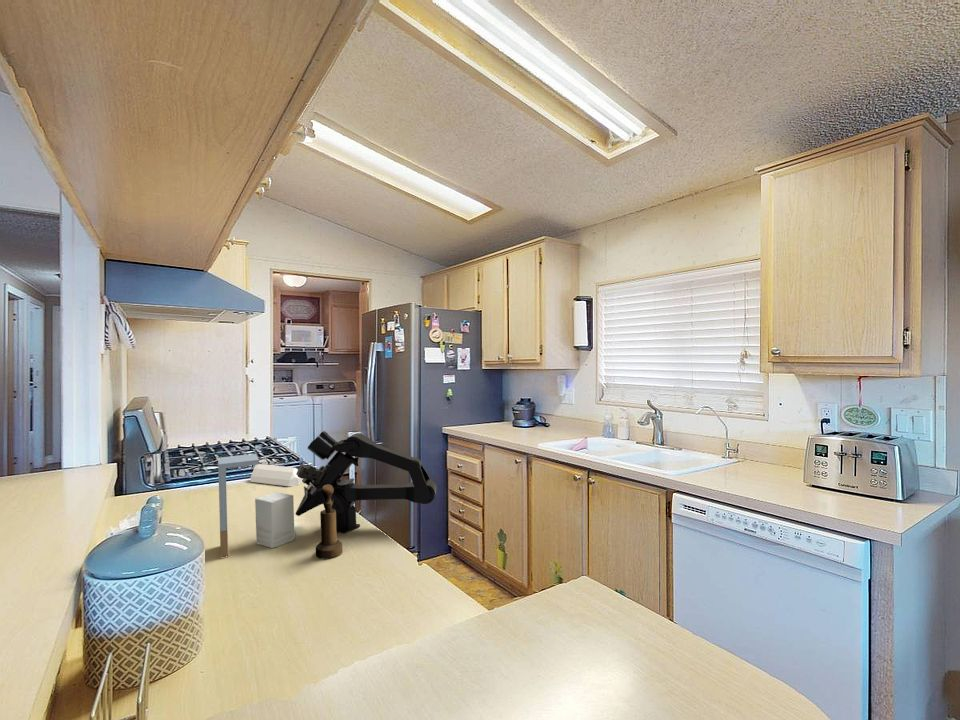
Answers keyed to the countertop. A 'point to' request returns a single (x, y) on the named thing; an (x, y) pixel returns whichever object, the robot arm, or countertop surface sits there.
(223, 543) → the inverted l-shaped post
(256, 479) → the white faceted cylinder
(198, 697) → the countertop surface
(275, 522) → the supplement box
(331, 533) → the brown chess piece
